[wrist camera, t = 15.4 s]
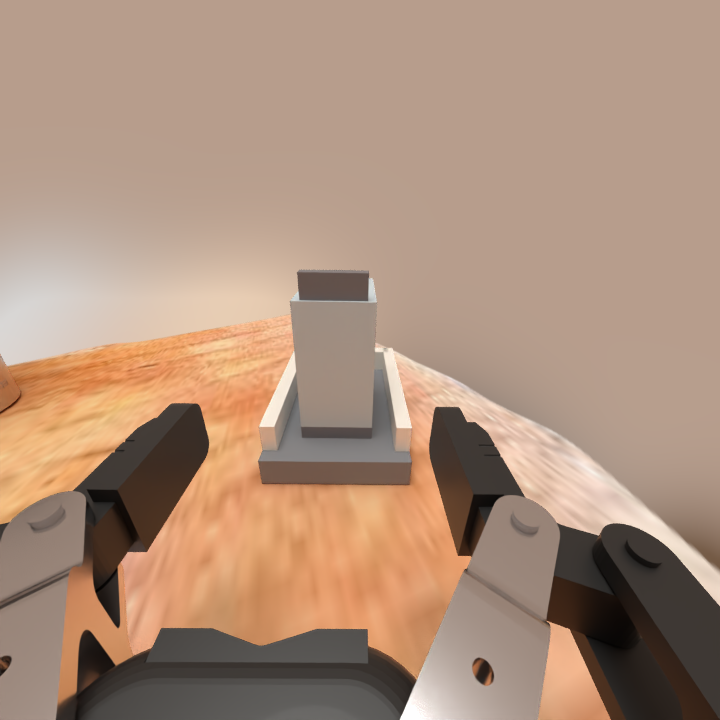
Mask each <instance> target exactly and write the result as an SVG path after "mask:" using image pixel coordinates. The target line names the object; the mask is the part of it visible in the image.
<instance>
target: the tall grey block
mask: <svg viewBox="0 0 720 720" xmlns="http://www.w3.org/2000/svg"><path fill="white" fill-rule="evenodd" d="M297 275H298V289H299V290H298V292H297V293H296V294H295V296H294V297H293V298H292V300H291V301H290V306H291V318H292V330H293V341H294V352H295V364H296V375H297V387H298V398H299V410H300V421H301V433H302V438H344V439H371V438H372V413H373V388H374V363H375V337H376V312H377V300H376V294H375V289H374V283H373V279H372V278H371V279H370V278H369V271H350V270H299V271H298V272H297Z"/></svg>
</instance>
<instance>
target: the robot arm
mask: <svg viewBox="0 0 720 720" xmlns="http://www.w3.org/2000/svg"><path fill="white" fill-rule="evenodd" d="M20 392H21V391H20V389H19V388H18V386H17V384H16V382H15V380H14V379H13V377H12V375H11V373H10V371H9V370H8V368H7V366H6V364H5V362H4V361H3V359H2V357H1V354H0V411H2V410H3V409H5V408H7V407H8V406H10V405H11V404H12V403H13V402H15V401H16V400H17V398H18V397H19V396H20ZM208 449H209V439H208V435H207V431H206V427H205V423H204V420H203V416H202V412H201V408H200V406H199V405H198V404H189V403H173V404H170V405H169V406H168V407H167V408H166V409H165V410H164V411H163V412H162V413H161V414H160V415H159V416H158V417H157V418H154V419H152V420H150V421H149V422H147V423H145V424H144V425H142V426H140V427H139V428H137V429H136V430H135V431H134V432H133V433H132V434H131V435H130V436H129V437H128V438H127V439H126V440H125V442H123V443H122V444H121V445H120V446H119V447H118V448H117V449H116V450H115V453H111V454H110V455H109V456H108V457H107V458H106V459H105V460H104V461H103V462H102V463H101V464H100V465H99V466H98V467H97V468H96V469H95V470H94V471H93V472H92V473H91V474H90V475H89V476H88V477H87V478H86V479H85V480H84V481H83V482H82V483H81V484H80V485H79V486H78V487H76V488H75V489H74V490H73V491H68V492H62V493H57V494H54V495H51V496H49V497H46V498H44V499H42V500H40V501H38V502H36V503H34V504H32V505H30V506H29V507H27V508H26V509H24V510H23V511H22V512H20V513H19V514H18V515H17V516H16V517H14V518H13V519H12V520H11V522H9V523H5V524H1V525H0V720H538V714H539V708H540V701H541V695H542V688H543V682H544V675H545V669H546V662H547V656H548V649H549V642H550V624H549V623H548V622H547V621H549V622H552V623H555V624H557V625H560V626H563V627H565V628H568V629H570V631H571V633H572V635H573V637H574V639H575V642H576V644H577V646H578V648H579V650H580V653H581V655H582V657H583V659H584V661H585V664H586V666H587V668H588V670H589V672H590V675H591V677H592V679H593V681H594V683H595V686H596V688H597V690H598V692H599V694H600V697H601V699H602V701H603V703H604V705H605V707H606V710H607V712H608V714H609V716H610V718H611V720H720V606H719V605H718V604H717V603H716V601H715V600H714V599H713V598H712V597H711V596H710V594H709V593H708V592H707V591H706V590H705V589H704V588H703V586H702V585H701V584H700V583H699V582H698V581H697V579H696V578H695V577H694V576H693V575H692V574H691V572H690V571H689V570H688V569H687V568H686V567H685V565H684V564H683V563H682V562H681V561H680V560H679V559H678V557H677V556H676V555H675V554H674V553H673V552H672V551H671V550H670V549H669V548H668V547H667V546H665V545H664V544H663V543H662V542H660V541H659V540H658V539H656V538H655V537H653V536H651V535H650V534H648V533H646V532H644V531H642V530H640V529H638V528H635V527H632V526H629V525H625V524H618V523H617V524H609V525H607V526H605V527H604V528H603V529H602V531H601V533H600V535H599V536H598V535H594V534H591V533H587V532H584V531H580V530H577V529H573V528H570V527H566V526H563V525H560V524H558V523H556V521H555V520H554V518H553V517H552V516H551V514H550V513H549V512H548V511H547V510H546V509H544V508H543V507H542V506H540V505H539V504H537V503H536V502H534V501H532V500H530V499H527V498H525V496H524V494H523V493H522V491H521V489H520V488H519V486H518V484H517V482H516V481H515V479H514V477H513V476H512V474H511V472H510V470H509V469H508V467H507V465H506V464H505V462H504V460H503V458H502V457H500V453H499V451H498V450H497V448H496V447H495V446H494V443H493V441H492V439H491V438H490V436H489V434H488V433H487V432H486V431H485V430H484V429H483V428H481V427H480V426H479V425H478V424H477V423H476V422H467V421H466V419H465V417H464V415H463V413H462V411H461V410H460V408H459V407H436V408H435V410H434V416H433V423H432V430H431V436H430V444H429V451H430V459H431V463H432V467H433V470H434V474H435V477H436V481H437V484H438V488H439V491H440V495H441V498H442V502H443V505H444V509H445V512H446V516H447V519H448V523H449V526H450V530H451V533H452V537H453V540H454V543H455V547H456V550H457V554H458V556H471V557H472V558H471V561H470V563H469V565H468V567H467V569H465V570H464V572H463V574H462V576H461V578H460V580H459V583H458V585H457V587H456V590H455V592H454V594H453V597H452V599H451V601H450V604H449V606H448V608H447V611H446V613H445V615H444V618H443V620H442V622H441V625H440V627H439V630H438V632H437V634H436V637H435V639H434V641H433V644H432V646H431V648H430V651H429V653H428V655H427V658H426V660H425V662H424V665H423V667H422V669H421V672H420V674H419V676H418V679H417V680H416V679H415V677H414V676H413V675H412V674H411V673H410V672H408V671H407V670H406V669H405V668H404V667H403V666H402V665H401V664H400V663H398V662H397V661H396V660H394V659H393V658H391V657H390V656H388V655H386V654H384V653H383V652H381V651H379V650H377V649H374V648H372V647H369V646H368V630H367V629H316V630H312V631H309V632H306V633H303V634H300V635H296V636H293V637H290V638H287V639H284V640H281V641H277V642H274V643H271V644H268V645H264V646H258V645H255V644H252V643H249V642H247V641H244V640H241V639H239V638H236V637H234V636H231V635H228V634H226V633H223V632H220V631H218V630H215V629H212V628H161V630H160V632H159V634H158V636H157V639H156V641H155V643H154V645H153V647H152V648H151V649H148V650H146V651H144V652H141V653H139V654H137V655H134V656H133V653H132V650H131V647H130V643H129V639H128V631H127V616H126V600H125V584H124V569H123V566H122V564H121V561H122V559H123V558H124V556H125V555H126V554H127V552H147V551H148V549H149V547H150V546H151V544H152V543H153V541H154V539H155V538H156V536H157V535H158V533H159V531H160V530H161V528H162V527H163V525H164V523H165V522H166V520H167V519H168V517H169V516H170V514H171V512H172V511H173V509H174V508H175V506H176V504H177V503H178V501H179V500H180V498H181V496H182V495H183V493H184V492H185V490H186V488H187V487H188V485H189V484H190V482H191V480H192V479H193V477H194V476H195V474H196V472H197V471H198V469H199V468H200V466H201V464H202V463H203V461H204V460H205V458H206V456H207V453H208Z"/></svg>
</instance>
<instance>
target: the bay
mask: <svg viewBox="0 0 720 720" xmlns="http://www.w3.org/2000/svg"><path fill="white" fill-rule="evenodd" d="M374 369H379V370H383V377H384V383H385V390H386V396H387V403H388V410H389V416H390V423H391V430H392V436H393V443H394V450H395V452H409V451H410V442H411V433H412V426H411V422H410V418H409V414H408V410H407V406H406V402H405V398H404V394H403V389H402V385H401V381H400V377H399V373H398V369H397V365H396V361H395V357H394V353H393V349H392V348H375V363H374ZM297 391H298V387H297V375H296V364H295V352H293V354H292V356H291V358H290V361H289V363H288V365H287V367H286V369H285V371H284V373H283V376H282V378H281V380H280V382H279V384H278V386H277V389H276V391H275V393H274V395H273V397H272V399H271V401H270V404H269V406H268V408H267V410H266V412H265V414H264V417H263V419H262V421H261V423H260V425H259V431H260V437H261V444H262V450H278V447H279V444H280V441H281V438H282V435H283V432H284V429H285V427H286V424H287V421H288V418H289V415H290V412H291V409H292V406H293V403H294V400H295V397H296V394H297Z"/></svg>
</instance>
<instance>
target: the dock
mask: <svg viewBox="0 0 720 720" xmlns="http://www.w3.org/2000/svg"><path fill="white" fill-rule="evenodd" d="M258 463H259V468H260V474H261V480H262V483H279V484H409V481H410V473H411V464H412V461H411V457H410V452H395V450H394V443H393V436H392V430H391V423H390V416H389V410H388V403H387V396H386V390H385V383H384V377H383V370H379V369H374V388H373V413H372V438H371V439H344V438H302V433H301V421H300V410H299V398H298V391H297V394H296V397H295V400H294V403H293V406H292V409H291V412H290V415H289V418H288V421H287V424H286V427H285V429H284V432H283V435H282V438H281V441H280V444H279V447H278V450H263V451H262V453H261V456H260V458H259V461H258Z"/></svg>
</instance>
